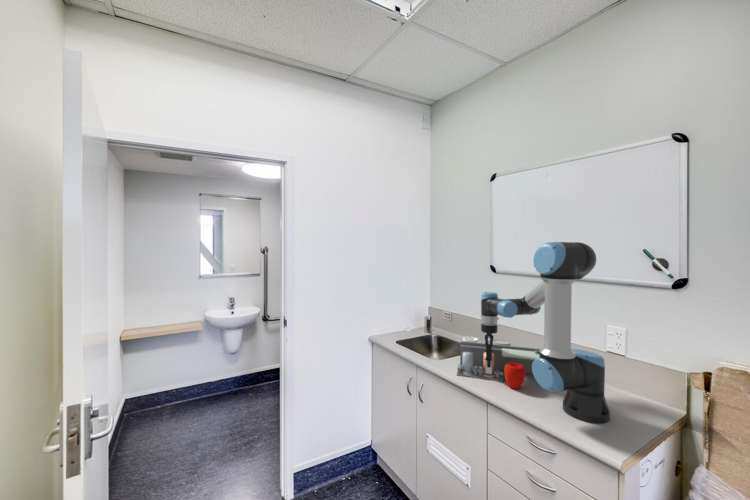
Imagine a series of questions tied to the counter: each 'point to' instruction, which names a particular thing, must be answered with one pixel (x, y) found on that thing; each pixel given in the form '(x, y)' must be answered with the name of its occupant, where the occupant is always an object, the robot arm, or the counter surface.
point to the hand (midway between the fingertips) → (488, 371)
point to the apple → (514, 374)
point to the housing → (474, 360)
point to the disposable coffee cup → (501, 342)
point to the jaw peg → (485, 362)
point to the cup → (471, 339)
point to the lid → (520, 354)
